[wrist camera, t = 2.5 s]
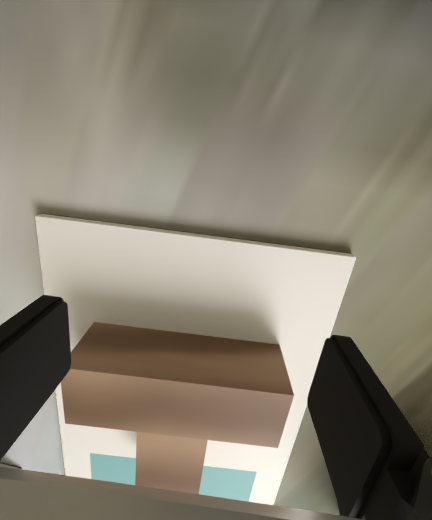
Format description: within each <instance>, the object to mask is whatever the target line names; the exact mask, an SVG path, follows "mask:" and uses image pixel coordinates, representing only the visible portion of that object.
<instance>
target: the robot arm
mask: <svg viewBox="0 0 432 520" xmlns="http://www.w3.org/2000/svg"><path fill="white" fill-rule="evenodd" d="M70 367H71V348H70V333H69V317H68V305H67V303H66V302H64V300H63V298H61V297H57V296H50V295H43V296H41V297H40V298H38V299H37V300H35V301H34V302H33V303H31V304H30V305H28V306H27V307H25V308H24V309H23V310H21V311H20V312H18V313H17V314H16V315H14V316H13V317H11V318H10V319H9V320H7V321H6V322H4V323H3V324H2V325H0V460H1V459H2V458H3V456H4V455H5V454H6V452H7V451H8V450H9V449H10V447H11V446H12V445H13V443H14V442H15V441H16V439H17V438H18V437H19V436H20V434H21V433H22V432H23V430H24V429H25V428H26V427H27V425H28V424H29V423H30V421H31V420H32V419H33V417H34V416H35V415H36V414H37V412H38V411H39V410H40V408H41V407H42V406H43V404H44V403H45V402H46V401H47V399H48V398H49V397H50V395H51V394H52V393H53V392H54V390H55V389H56V388H57V386H58V385H59V384H60V382H61V381H62V380H63V379H64V377H65V376H66V375H67V373H68V372H69V370H70ZM307 403H308V408H309V411H310V414H311V417H312V421H313V424H314V427H315V430H316V433H317V437H318V440H319V443H320V446H321V449H322V453H323V456H324V459H325V462H326V465H327V469H328V472H329V475H330V478H331V481H332V484H333V488H334V491H335V494H336V497H337V500H338V504H339V507H340V510H341V513H342V515H343V516H338V515H332V514H327V513H321V512H315V511H308V510H302V509H295V508H288V507H281V506H275V505H268V504H261V503H255V502H248V501H241V500H234V499H228V498H221V497H214V496H207V495H200V494H193V493H186V492H179V491H172V490H165V489H158V488H151V487H144V486H137V485H130V484H123V483H116V482H109V481H102V480H95V479H87V478H80V477H73V476H65V475H58V474H51V473H43V472H36V471H29V470H21V469H14V468H7V467H0V520H432V457H431V458H430V457H429V456H428V454H427V453H426V451H425V450H424V448H423V447H424V445H423V443H422V442H421V440H420V439H419V437H418V436H417V434H416V433H415V431H414V430H413V429H412V427H411V426H410V424H409V423H408V421H407V420H406V418H405V417H404V415H403V414H402V412H401V411H400V409H399V408H398V406H397V405H396V403H395V402H394V401H393V399H392V398H391V396H390V395H389V393H388V392H387V390H386V389H385V387H384V386H383V384H382V383H381V381H380V380H379V378H378V377H377V375H376V374H375V373H374V371H373V370H372V368H371V367H370V365H369V364H368V362H367V361H366V359H365V358H364V356H363V355H362V353H361V352H360V350H359V349H358V347H357V346H356V345H355V343H354V342H353V340H352V339H351V338H350V337H346V336H339V335H332V336H331V337H330V338H327V339H326V340H325V342H324V345H323V349H322V352H321V355H320V358H319V361H318V365H317V368H316V371H315V374H314V377H313V381H312V384H311V387H310V390H309V393H308V398H307Z"/></svg>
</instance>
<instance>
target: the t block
mask: <svg viewBox="0 0 432 520" xmlns="http://www.w3.org/2000/svg"><path fill="white" fill-rule="evenodd" d="M61 390H62V399H63V409H64V418H65V424H73V425H82V426H91V427H99V428H108V429H117V430H126V431H134V432H137V441H136V476H135V485H137V486H144V487H151V488H158V489H165V490H172V491H179V492H186V493H193V494H199V489H200V483H201V477H202V471H203V465H204V459H205V453H206V447H207V441H208V440H213V441H221V442H230V443H239V444H247V445H256V446H265V447H273V448H278V446H279V443H280V440H281V436H282V433H283V430H284V427H285V423H286V420H287V417H288V414H289V410H290V407H291V404H292V401H293V397H294V393H293V390H292V386H291V383H290V379H289V376H288V372H287V369H286V365H285V362H284V358H283V355H282V351H281V348H280V345H279V344H270V343H262V342H254V341H246V340H238V339H229V338H221V337H213V336H205V335H197V334H189V333H180V332H172V331H164V330H156V329H148V328H139V327H131V326H123V325H115V324H107V323H99V322H94V323H93V324H92V325H91V327H90V328H89V329H88V330H87V332H86V333H85V334H84V336H83V337H82V338H81V340H80V341H79V342H78V344H77V345H76V346H75V347H74V349H73V350H72V351H71V367H70V370H69V372H68V373H67V375H66V376H65V377H64V379H63V380H62V381H61Z"/></svg>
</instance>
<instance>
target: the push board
mask: <svg viewBox="0 0 432 520" xmlns="http://www.w3.org/2000/svg"><path fill="white" fill-rule="evenodd" d="M35 219H36V228H37V236H38V245H39V253H40V262H41V270H42V279H43V288H44V295H50V296H57V297H61V298H63V300H64V302H66V303H67V305H68V317H69V333H70V348H71V351H72V350H73V349H74V347H75V346H76V345H77V344H78V342H79V341H80V340H81V338H82V337H83V336H84V334H85V333H86V332H87V330H88V329H89V328H90V327H91V325H92V324H93V323H94V322H99V323H107V324H115V325H123V326H131V327H139V328H148V329H156V330H164V331H172V332H180V333H189V334H197V335H205V336H213V337H221V338H229V339H238V340H246V341H254V342H262V343H270V344H279V345H280V348H281V351H282V355H283V358H284V362H285V365H286V369H287V372H288V376H289V379H290V383H291V386H292V390H293V393H294V397H293V401H292V404H291V407H290V410H289V414H288V417H287V420H286V423H285V427H284V430H283V433H282V436H281V440H280V443H279V446H278V448H273V447H265V446H256V445H247V444H239V443H230V442H221V441H213V440H208V441H207V447H206V453H205V459H204V465H203V471H202V477H201V483H200V489H199V494H200V495H207V496H214V497H221V498H228V499H234V500H241V501H248V502H255V503H261V504H268V505H273V504H274V501H275V498H276V495H277V492H278V489H279V486H280V483H281V480H282V477H283V474H284V471H285V468H286V465H287V462H288V460H289V457H290V454H291V451H292V448H293V445H294V442H295V439H296V436H297V433H298V430H299V427H300V424H301V421H302V418H303V415H304V412H305V409H306V406H307V398H308V393H309V390H310V387H311V384H312V381H313V377H314V374H315V371H316V368H317V365H318V361H319V358H320V355H321V352H322V349H323V345H324V342H325V340H326V339H327V338H330V335H331V332H332V329H333V326H334V323H335V320H336V317H337V314H338V311H339V308H340V305H341V302H342V299H343V296H344V293H345V290H346V287H347V284H348V281H349V278H350V275H351V272H352V269H353V266H354V263H355V260H356V257H355V256H354V255H353V254H349V253H341V252H334V251H326V250H318V249H311V248H303V247H295V246H287V245H280V244H272V243H264V242H256V241H249V240H241V239H233V238H225V237H218V236H210V235H202V234H195V233H187V232H179V231H171V230H164V229H156V228H148V227H140V226H133V225H125V224H117V223H110V222H102V221H94V220H86V219H79V218H71V217H63V216H55V215H48V214H40V215H37V216H35ZM55 390H56V398H57V407H58V415H59V424H60V433H61V441H62V450H63V458H64V467H65V475H66V476H73V477H80V478H87V479H95V480H102V481H109V482H116V483H123V484H130V485H135V476H136V441H137V432H134V431H126V430H117V429H108V428H99V427H91V426H82V425H73V424H65V418H64V409H63V399H62V390H61V382H60V384H59V385H58V386H57V388H56V389H55Z"/></svg>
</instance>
